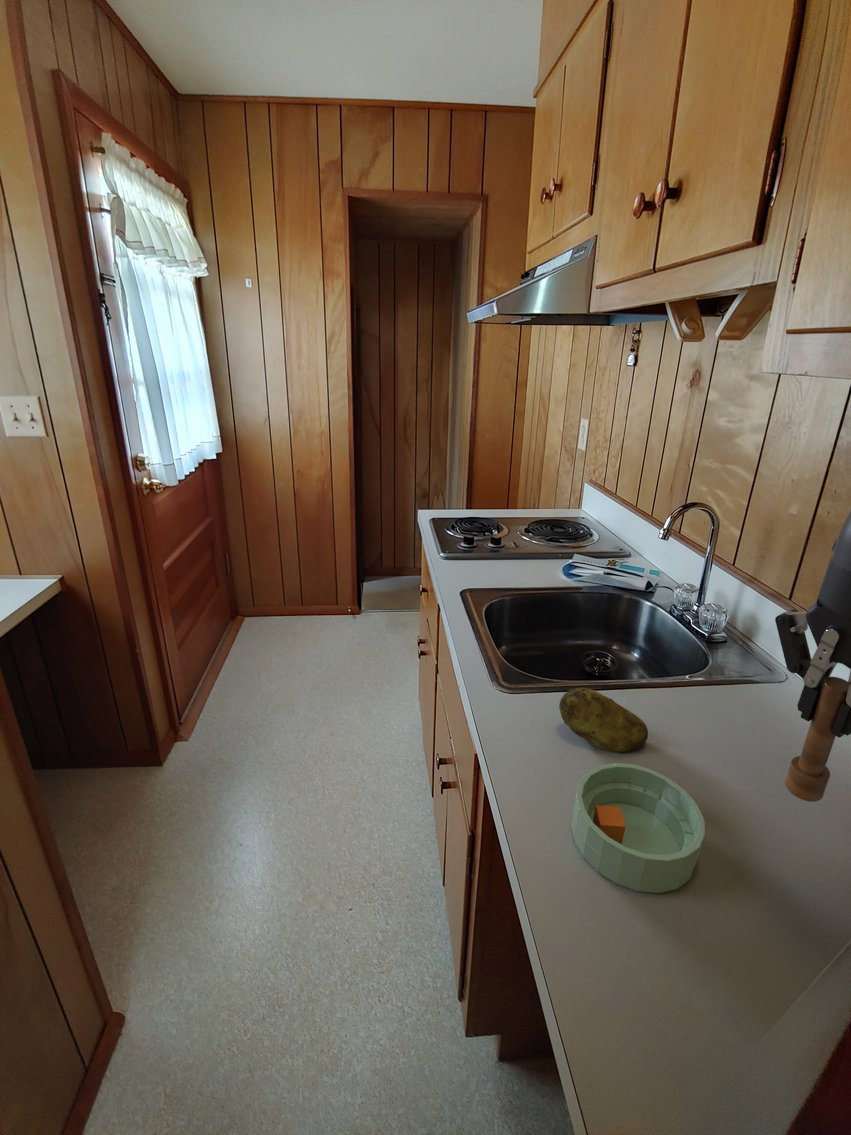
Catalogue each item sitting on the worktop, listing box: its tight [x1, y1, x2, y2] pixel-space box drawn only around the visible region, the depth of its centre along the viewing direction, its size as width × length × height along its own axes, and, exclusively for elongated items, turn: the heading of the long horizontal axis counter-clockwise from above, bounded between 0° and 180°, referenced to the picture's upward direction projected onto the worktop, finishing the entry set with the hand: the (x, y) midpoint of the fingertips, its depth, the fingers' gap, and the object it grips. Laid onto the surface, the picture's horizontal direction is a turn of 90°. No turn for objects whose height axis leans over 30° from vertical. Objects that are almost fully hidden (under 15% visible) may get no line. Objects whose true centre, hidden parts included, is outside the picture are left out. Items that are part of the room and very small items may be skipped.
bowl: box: [570, 762, 706, 894], centre depth 67 cm, size 14×14×6 cm
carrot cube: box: [593, 805, 626, 845], centre depth 68 cm, size 3×3×3 cm
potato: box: [558, 687, 649, 753], centre depth 84 cm, size 8×13×8 cm, turn 56°
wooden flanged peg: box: [784, 676, 849, 803], centre depth 55 cm, size 3×3×14 cm
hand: (823, 724), depth 54 cm, fingers closed on wooden flanged peg, 2 cm apart
